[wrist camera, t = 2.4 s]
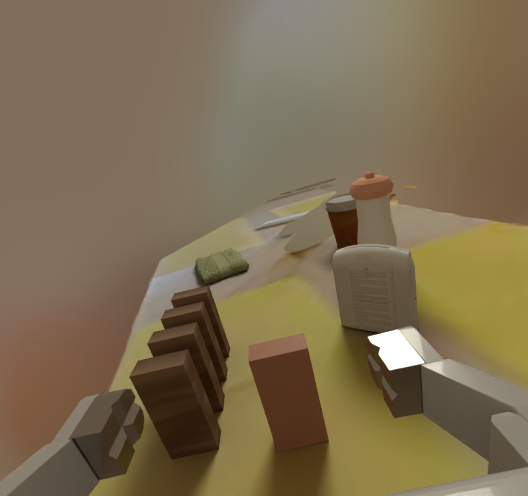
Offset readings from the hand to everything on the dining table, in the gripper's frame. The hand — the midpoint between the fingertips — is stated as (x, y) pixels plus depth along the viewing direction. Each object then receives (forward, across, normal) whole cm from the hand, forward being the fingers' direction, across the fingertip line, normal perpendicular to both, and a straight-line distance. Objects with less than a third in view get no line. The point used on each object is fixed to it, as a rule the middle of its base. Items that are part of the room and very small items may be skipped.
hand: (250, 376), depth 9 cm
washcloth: (+63, +14, +20) cm, 68 cm away
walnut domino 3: (+18, +11, +20) cm, 29 cm away
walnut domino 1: (+27, +11, +20) cm, 35 cm away
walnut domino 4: (+14, +11, +20) cm, 26 cm away
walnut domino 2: (+23, +11, +20) cm, 32 cm away
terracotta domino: (+12, 0, +20) cm, 23 cm away
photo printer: (+26, -14, +20) cm, 35 cm away
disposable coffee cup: (+57, -21, +20) cm, 64 cm away
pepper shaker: (+40, -20, +20) cm, 49 cm away
